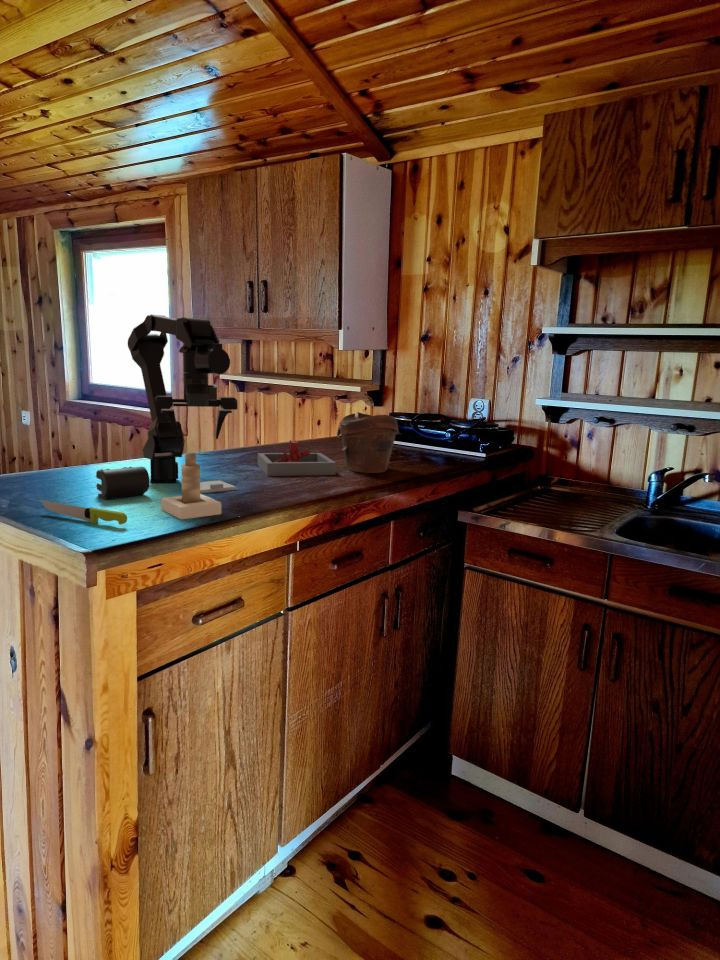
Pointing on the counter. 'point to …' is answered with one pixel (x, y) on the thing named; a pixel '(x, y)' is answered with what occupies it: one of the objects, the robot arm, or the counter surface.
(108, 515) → the kitchen knife
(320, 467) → the gray square tray
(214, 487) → the lid panel
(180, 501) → the white square socket base
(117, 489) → the end cap
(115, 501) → the counter surface
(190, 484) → the birch pin
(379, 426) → the brown tapered pot
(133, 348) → the robot arm
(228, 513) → the counter surface
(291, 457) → the diorama
